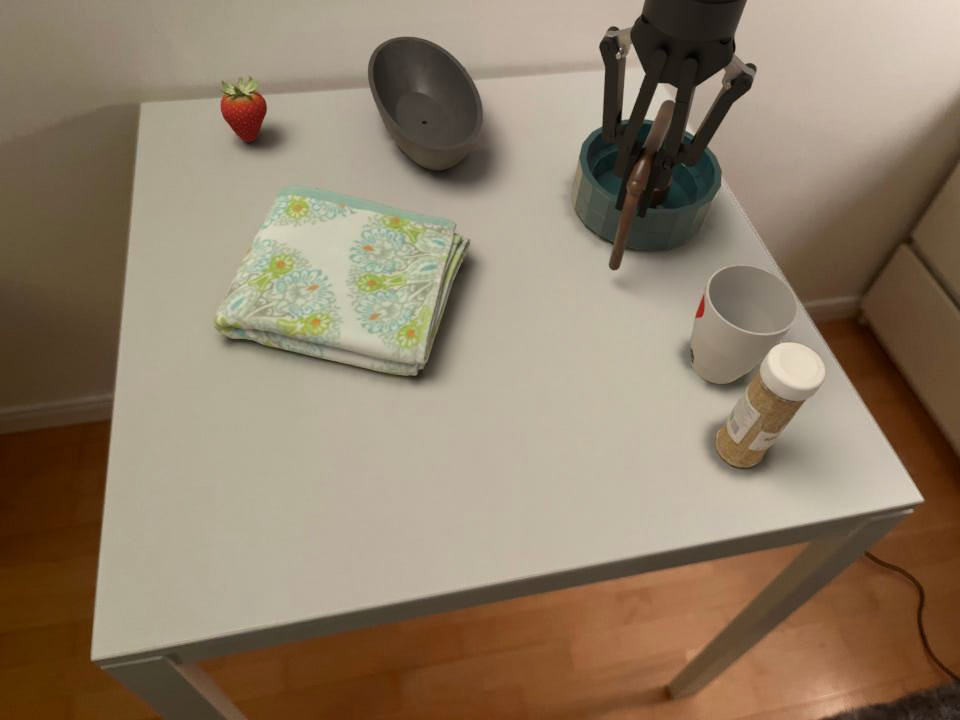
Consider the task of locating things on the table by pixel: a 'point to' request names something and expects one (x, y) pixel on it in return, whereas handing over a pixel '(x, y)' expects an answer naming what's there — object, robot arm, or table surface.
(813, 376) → the sprinkles bottle
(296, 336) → the towel
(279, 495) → the table surface
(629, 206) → the bent wooden rod
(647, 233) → the mixing bowl
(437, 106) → the bowl
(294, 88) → the table surface
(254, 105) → the fruit
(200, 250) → the table surface
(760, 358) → the cup
